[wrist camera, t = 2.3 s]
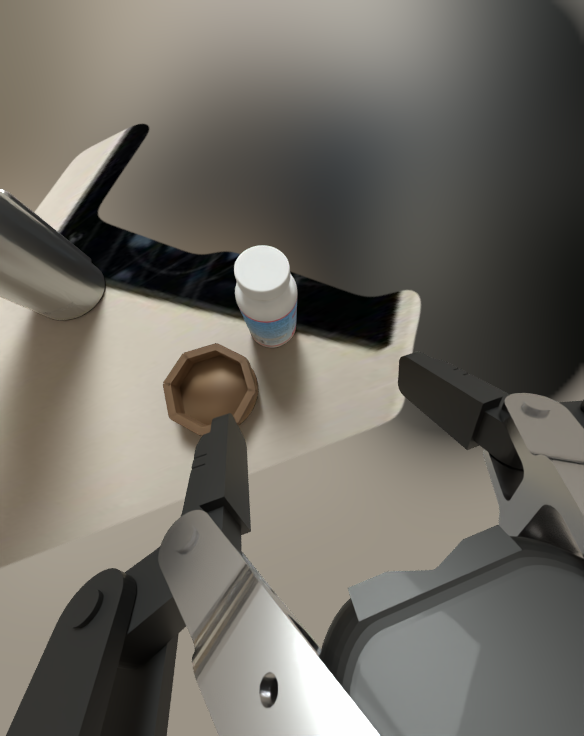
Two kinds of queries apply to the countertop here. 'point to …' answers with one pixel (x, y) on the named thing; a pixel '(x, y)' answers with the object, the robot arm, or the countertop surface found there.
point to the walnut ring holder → (210, 387)
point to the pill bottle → (266, 295)
